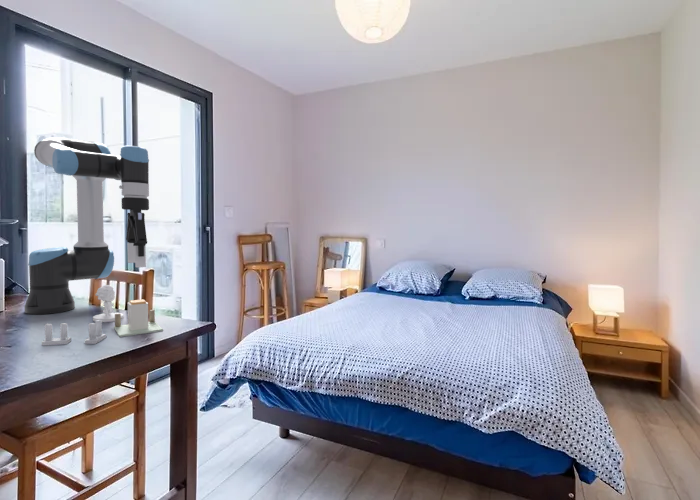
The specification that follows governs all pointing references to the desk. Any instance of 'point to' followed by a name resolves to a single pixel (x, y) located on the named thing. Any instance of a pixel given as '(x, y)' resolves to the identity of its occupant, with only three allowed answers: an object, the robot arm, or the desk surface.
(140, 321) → the connector
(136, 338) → the desk surface
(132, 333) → the holder
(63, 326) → the clip
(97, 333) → the clip
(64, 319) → the desk surface
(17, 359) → the desk surface
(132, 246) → the robot arm
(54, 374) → the desk surface
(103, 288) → the figurine
